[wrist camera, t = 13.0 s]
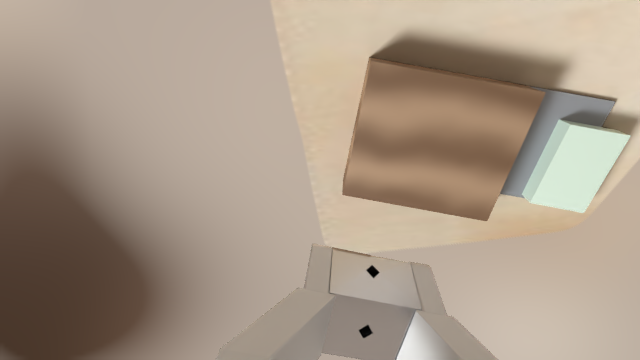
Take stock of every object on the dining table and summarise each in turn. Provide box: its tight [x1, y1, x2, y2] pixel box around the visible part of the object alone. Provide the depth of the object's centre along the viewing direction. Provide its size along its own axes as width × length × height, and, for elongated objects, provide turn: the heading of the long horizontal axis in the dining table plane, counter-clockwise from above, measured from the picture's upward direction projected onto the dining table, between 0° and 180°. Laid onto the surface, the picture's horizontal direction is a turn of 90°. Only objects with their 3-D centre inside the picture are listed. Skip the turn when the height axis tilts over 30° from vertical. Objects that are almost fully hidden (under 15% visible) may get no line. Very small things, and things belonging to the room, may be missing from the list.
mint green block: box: [522, 119, 630, 213], centre depth 35 cm, size 9×6×2 cm, turn 171°
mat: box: [500, 86, 615, 198], centre depth 36 cm, size 12×8×1 cm
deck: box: [343, 57, 546, 221], centre depth 35 cm, size 14×16×4 cm
